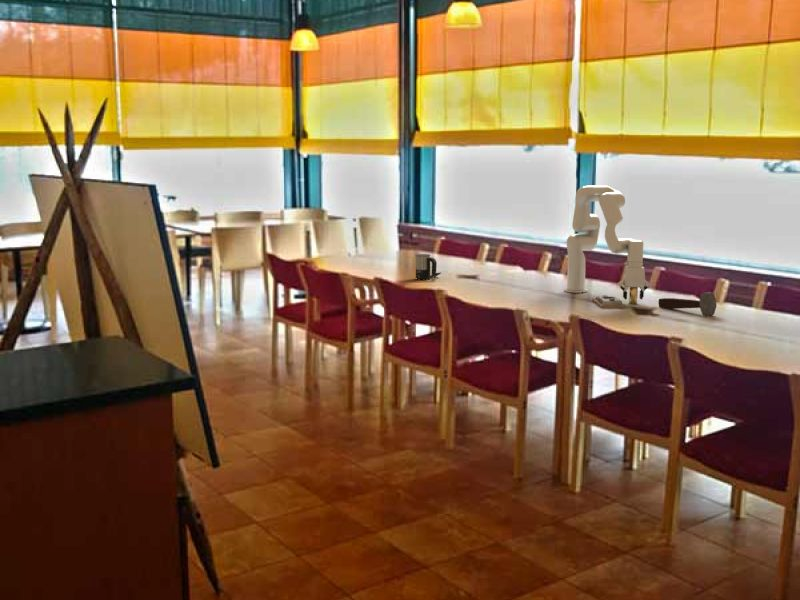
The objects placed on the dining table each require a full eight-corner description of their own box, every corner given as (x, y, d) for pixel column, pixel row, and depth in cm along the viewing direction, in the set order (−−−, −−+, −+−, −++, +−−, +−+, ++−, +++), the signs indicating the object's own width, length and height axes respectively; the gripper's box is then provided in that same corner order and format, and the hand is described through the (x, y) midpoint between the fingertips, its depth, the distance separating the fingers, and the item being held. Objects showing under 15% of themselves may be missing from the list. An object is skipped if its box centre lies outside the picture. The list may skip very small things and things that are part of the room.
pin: (627, 302, 439) (628, 285, 438) (635, 302, 439) (636, 285, 438) (630, 304, 435) (630, 286, 434) (637, 304, 435) (638, 286, 434)
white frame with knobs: (592, 300, 445) (592, 292, 444) (615, 300, 445) (615, 292, 444) (601, 307, 425) (601, 299, 425) (625, 307, 425) (625, 299, 425)
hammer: (657, 315, 426) (710, 316, 402) (656, 292, 425) (709, 293, 401) (664, 313, 429) (717, 315, 405) (662, 291, 428) (715, 292, 404)
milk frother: (413, 280, 512) (413, 255, 509) (420, 276, 527) (420, 252, 524) (436, 281, 508) (436, 256, 505) (442, 277, 522) (443, 253, 520)
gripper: (619, 265, 430) (617, 300, 433) (654, 265, 430) (652, 300, 433) (615, 263, 437) (614, 297, 441) (649, 263, 437) (648, 297, 441)
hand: (633, 298), depth 437 cm, fingers open, 7 cm apart
